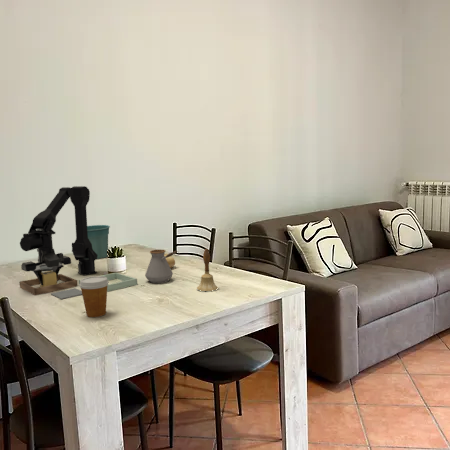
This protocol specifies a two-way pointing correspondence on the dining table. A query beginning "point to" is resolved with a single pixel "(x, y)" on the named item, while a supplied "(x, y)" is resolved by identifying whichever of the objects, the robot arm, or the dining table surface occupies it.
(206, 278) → the hand bell
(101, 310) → the disposable coffee cup
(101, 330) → the dining table surface
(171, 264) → the onion
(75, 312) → the dining table surface
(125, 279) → the sage tray
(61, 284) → the walnut tray
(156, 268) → the coffee pot
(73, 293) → the rubber mat
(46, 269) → the grey cylinder
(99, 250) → the flower pot
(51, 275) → the letter block
